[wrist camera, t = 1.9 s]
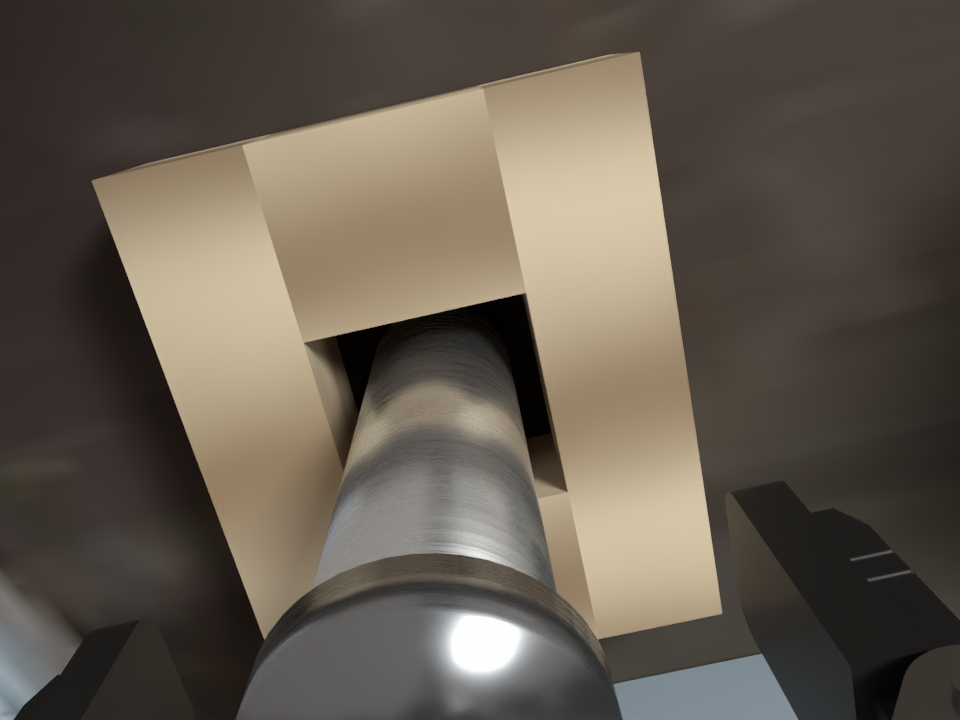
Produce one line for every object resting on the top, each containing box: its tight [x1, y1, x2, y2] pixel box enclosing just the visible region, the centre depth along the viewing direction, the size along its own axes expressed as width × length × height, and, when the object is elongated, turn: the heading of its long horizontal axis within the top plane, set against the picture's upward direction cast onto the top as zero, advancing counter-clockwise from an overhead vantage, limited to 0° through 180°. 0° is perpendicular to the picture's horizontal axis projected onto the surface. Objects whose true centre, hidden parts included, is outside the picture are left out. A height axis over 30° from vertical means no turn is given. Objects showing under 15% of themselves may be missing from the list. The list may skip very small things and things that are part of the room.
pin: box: [235, 307, 623, 720], centre depth 14 cm, size 4×4×12 cm
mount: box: [92, 52, 722, 640], centre depth 18 cm, size 12×10×3 cm
